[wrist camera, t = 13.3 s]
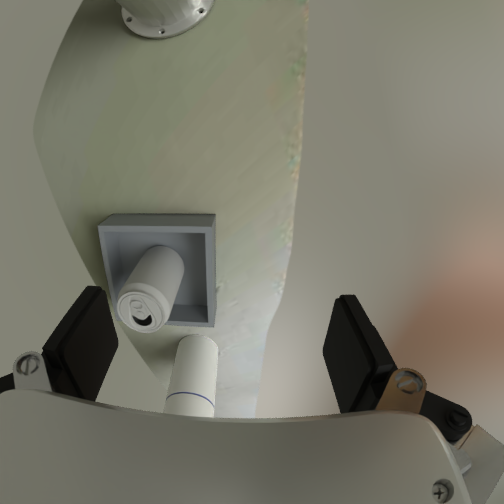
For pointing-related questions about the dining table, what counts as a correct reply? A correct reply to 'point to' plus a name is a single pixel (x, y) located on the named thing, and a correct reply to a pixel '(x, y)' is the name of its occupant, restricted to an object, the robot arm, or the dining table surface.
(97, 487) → the robot arm
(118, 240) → the box
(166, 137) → the dining table surface
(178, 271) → the beverage can
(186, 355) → the cylindrical container
